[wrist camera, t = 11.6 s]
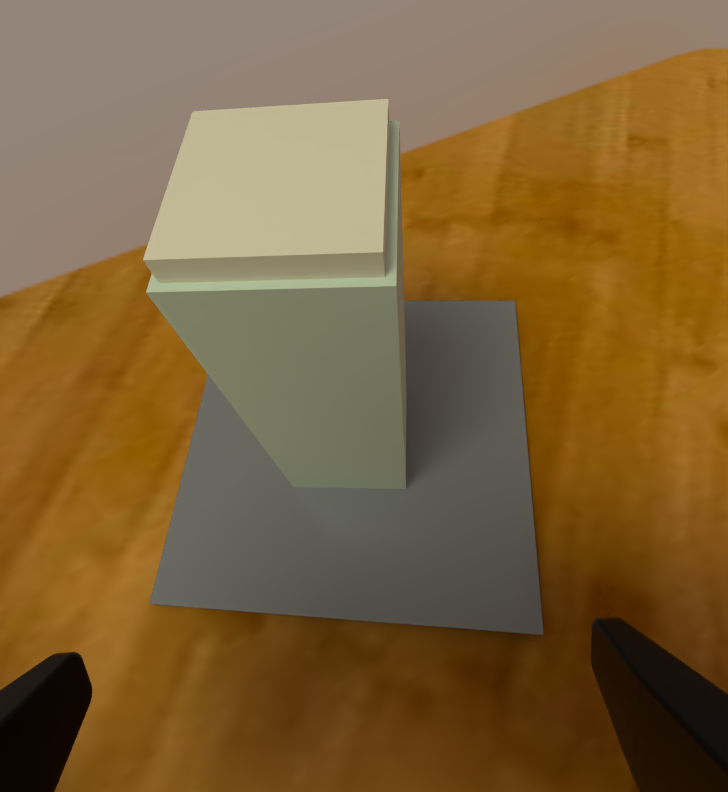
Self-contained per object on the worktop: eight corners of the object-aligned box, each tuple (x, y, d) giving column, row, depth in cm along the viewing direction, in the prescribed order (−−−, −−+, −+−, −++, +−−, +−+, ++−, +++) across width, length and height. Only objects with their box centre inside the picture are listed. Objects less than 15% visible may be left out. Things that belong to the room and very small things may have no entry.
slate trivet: (540, 634, 16) (543, 634, 16) (154, 604, 18) (149, 603, 18) (513, 306, 23) (515, 300, 22) (229, 305, 24) (226, 300, 24)
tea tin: (405, 488, 19) (395, 261, 8) (293, 487, 19) (128, 269, 8) (406, 387, 21) (398, 92, 10) (304, 388, 21) (185, 106, 10)
